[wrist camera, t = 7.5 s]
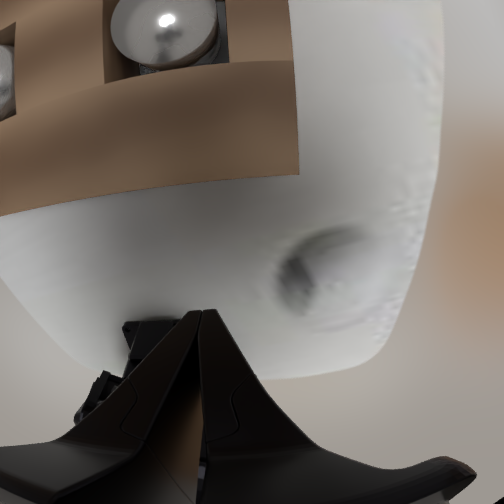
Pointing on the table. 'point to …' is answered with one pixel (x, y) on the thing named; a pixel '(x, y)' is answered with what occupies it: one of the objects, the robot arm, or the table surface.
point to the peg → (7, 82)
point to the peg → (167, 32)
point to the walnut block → (140, 106)
